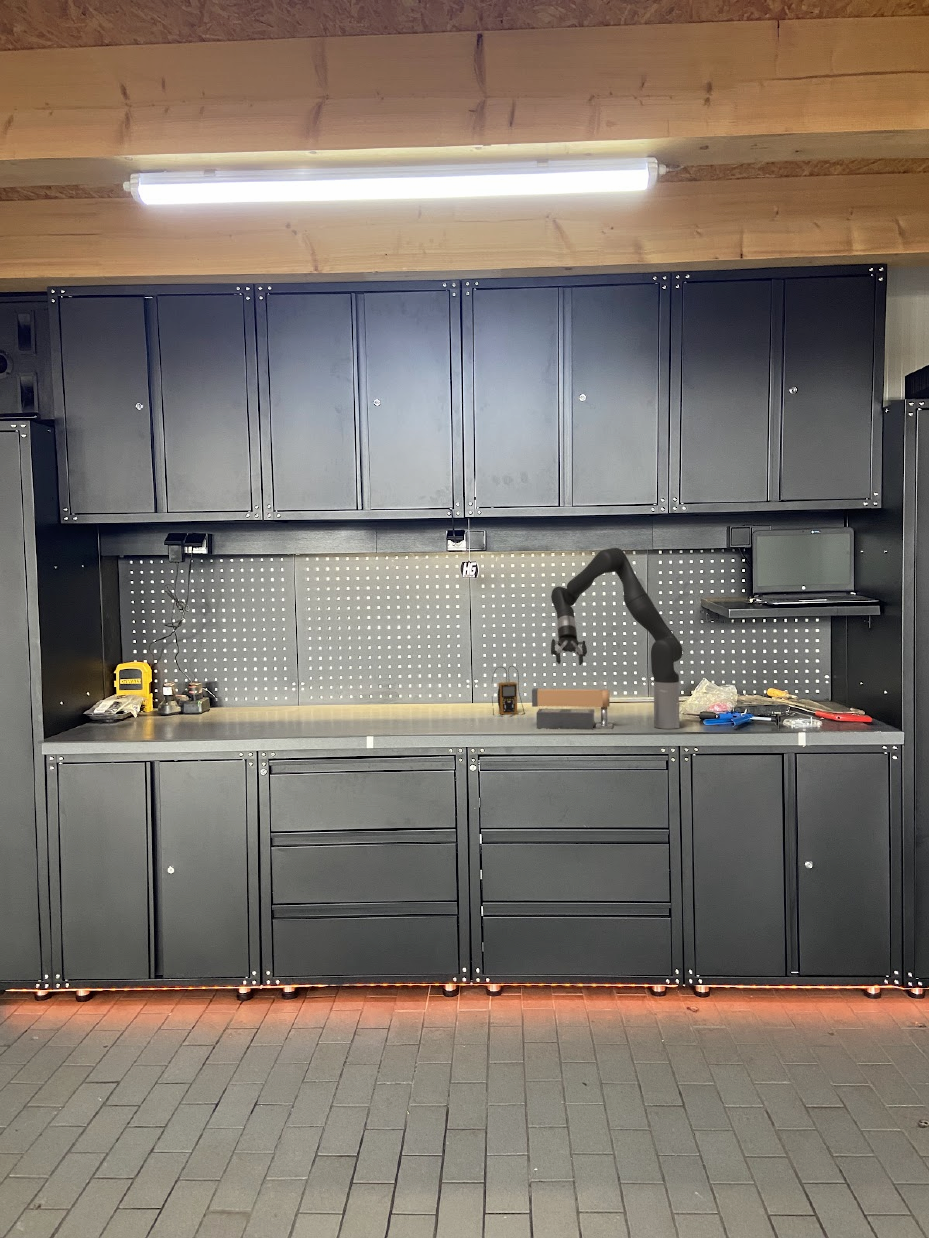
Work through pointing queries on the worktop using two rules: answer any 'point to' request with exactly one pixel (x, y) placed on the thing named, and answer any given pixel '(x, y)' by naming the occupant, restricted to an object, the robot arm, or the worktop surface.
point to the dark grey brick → (565, 718)
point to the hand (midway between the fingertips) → (570, 663)
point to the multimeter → (507, 696)
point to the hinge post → (604, 720)
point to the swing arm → (570, 698)
